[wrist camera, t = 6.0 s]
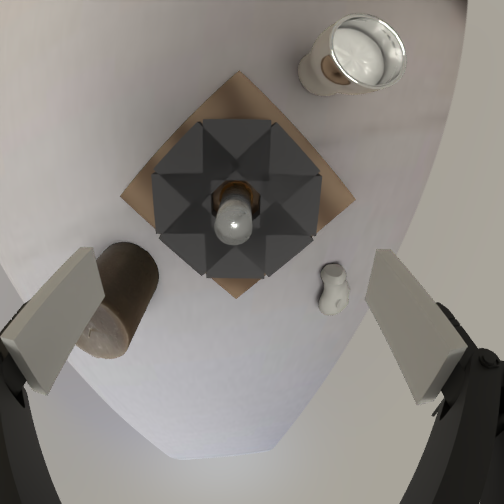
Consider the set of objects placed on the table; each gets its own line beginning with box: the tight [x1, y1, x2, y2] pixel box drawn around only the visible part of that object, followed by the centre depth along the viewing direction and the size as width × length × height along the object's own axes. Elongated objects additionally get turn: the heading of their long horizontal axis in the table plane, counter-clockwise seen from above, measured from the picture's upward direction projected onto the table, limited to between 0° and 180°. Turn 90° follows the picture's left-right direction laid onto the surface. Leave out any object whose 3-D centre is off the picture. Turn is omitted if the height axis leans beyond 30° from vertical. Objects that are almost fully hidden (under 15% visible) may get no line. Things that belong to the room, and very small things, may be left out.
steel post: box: [214, 181, 253, 245], centre depth 30 cm, size 4×4×11 cm
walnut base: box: [120, 71, 356, 299], centre depth 36 cm, size 21×21×2 cm
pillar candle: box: [76, 242, 159, 359], centre depth 35 cm, size 10×10×15 cm
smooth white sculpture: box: [319, 264, 350, 316], centre depth 41 cm, size 4×8×5 cm
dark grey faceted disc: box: [151, 119, 322, 279], centre depth 32 cm, size 18×18×2 cm
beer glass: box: [298, 13, 407, 96], centre depth 23 cm, size 7×7×15 cm
